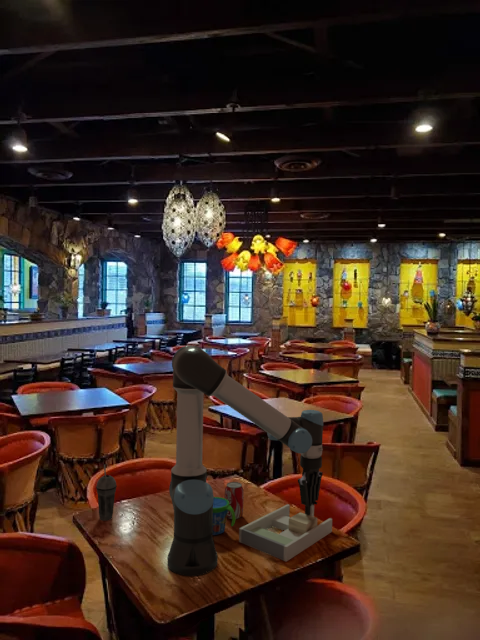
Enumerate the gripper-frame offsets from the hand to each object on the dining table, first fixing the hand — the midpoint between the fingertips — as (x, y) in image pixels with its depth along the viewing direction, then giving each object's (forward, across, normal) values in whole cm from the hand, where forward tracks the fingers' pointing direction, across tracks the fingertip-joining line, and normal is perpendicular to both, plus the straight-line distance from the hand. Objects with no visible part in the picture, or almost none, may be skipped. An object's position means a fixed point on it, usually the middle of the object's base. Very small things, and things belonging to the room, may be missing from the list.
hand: (309, 522), depth 171 cm
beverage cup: (+4, -40, +61) cm, 73 cm away
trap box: (+4, -8, +4) cm, 9 cm away
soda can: (+4, -8, +28) cm, 29 cm away
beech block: (+1, -4, 0) cm, 4 cm away
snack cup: (+4, -22, +25) cm, 33 cm away
